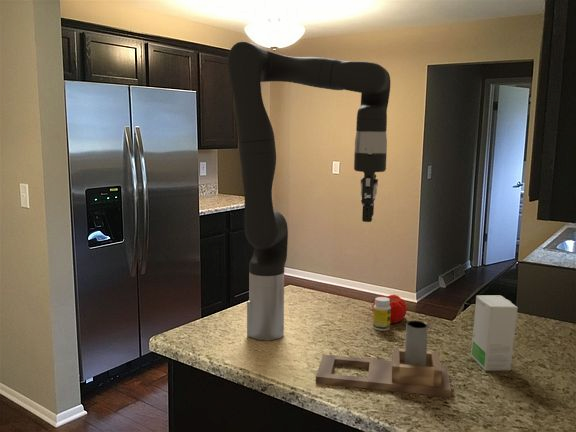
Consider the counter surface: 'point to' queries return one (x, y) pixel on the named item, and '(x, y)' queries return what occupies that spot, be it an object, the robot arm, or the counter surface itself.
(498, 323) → the skincare box
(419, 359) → the grey hollow tube
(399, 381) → the socket board
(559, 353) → the counter surface
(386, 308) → the supplement bottle
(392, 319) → the tomato
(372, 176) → the robot arm
